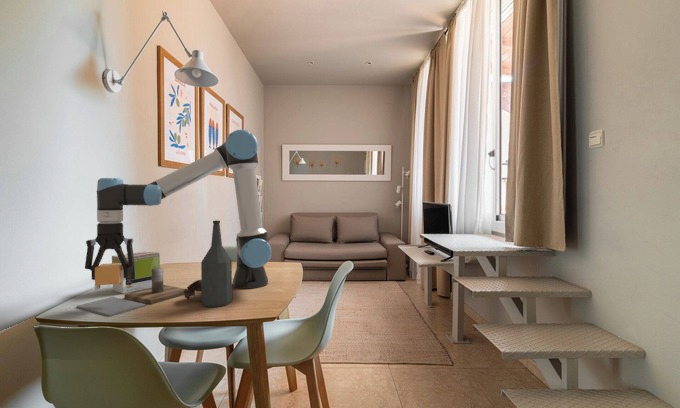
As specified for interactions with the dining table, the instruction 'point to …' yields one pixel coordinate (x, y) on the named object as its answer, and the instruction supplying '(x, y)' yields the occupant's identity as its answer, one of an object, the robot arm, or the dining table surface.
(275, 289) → the dining table surface
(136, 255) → the tea box
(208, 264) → the bottle
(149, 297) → the post stand
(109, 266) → the orange foam cube
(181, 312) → the dining table surface
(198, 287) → the brown animal figurine
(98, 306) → the mat
